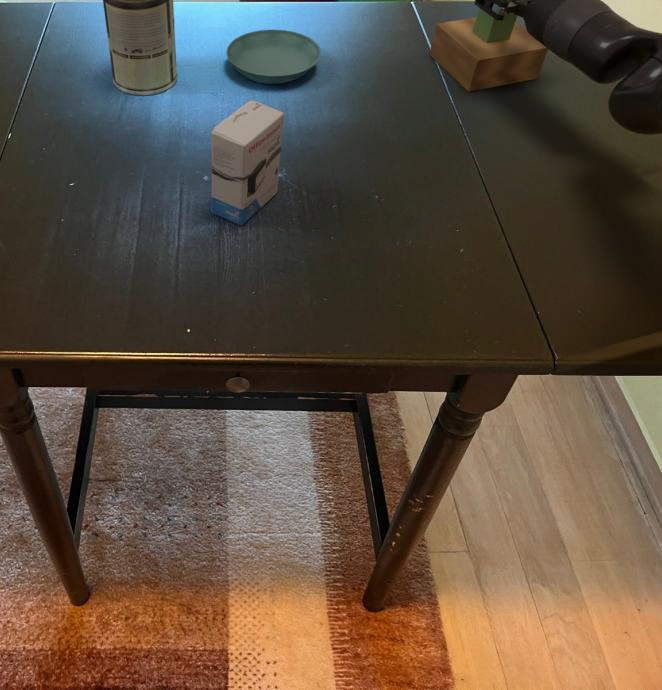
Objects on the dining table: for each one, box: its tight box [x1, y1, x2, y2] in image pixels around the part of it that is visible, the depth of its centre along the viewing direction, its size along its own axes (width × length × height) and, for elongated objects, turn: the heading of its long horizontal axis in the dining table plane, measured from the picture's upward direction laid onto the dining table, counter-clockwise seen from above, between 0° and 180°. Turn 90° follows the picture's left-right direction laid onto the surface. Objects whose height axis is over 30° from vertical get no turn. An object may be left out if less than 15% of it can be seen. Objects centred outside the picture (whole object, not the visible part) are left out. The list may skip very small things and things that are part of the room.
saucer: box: [226, 29, 322, 85], centre depth 108 cm, size 15×15×3 cm
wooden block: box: [428, 16, 549, 93], centre depth 106 cm, size 12×12×5 cm
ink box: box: [211, 99, 285, 227], centre depth 83 cm, size 8×5×12 cm, turn 143°
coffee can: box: [102, 0, 178, 96], centre depth 102 cm, size 10×10×14 cm
